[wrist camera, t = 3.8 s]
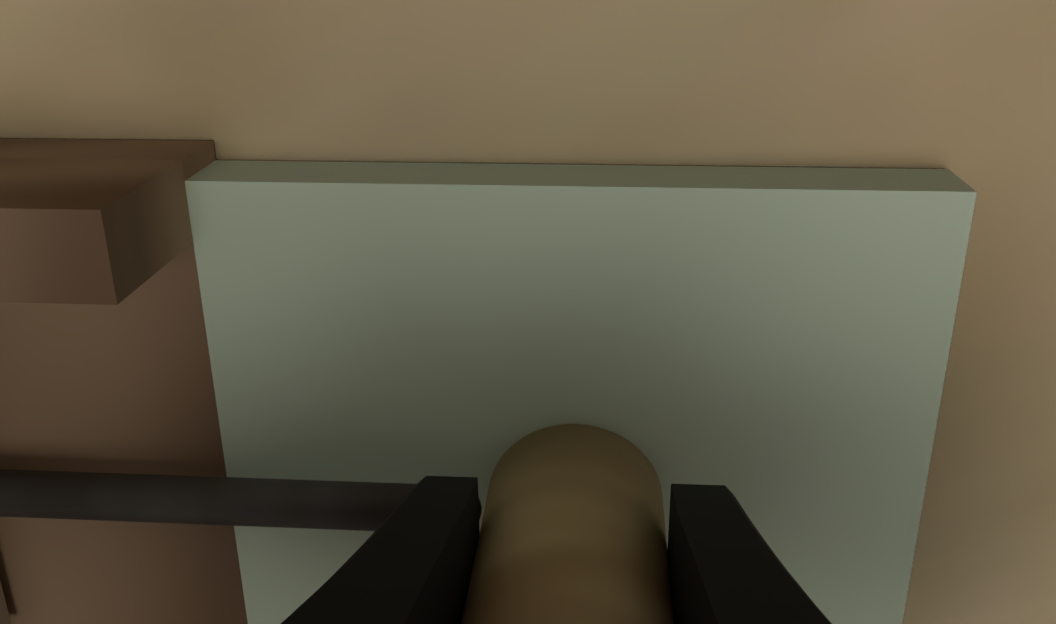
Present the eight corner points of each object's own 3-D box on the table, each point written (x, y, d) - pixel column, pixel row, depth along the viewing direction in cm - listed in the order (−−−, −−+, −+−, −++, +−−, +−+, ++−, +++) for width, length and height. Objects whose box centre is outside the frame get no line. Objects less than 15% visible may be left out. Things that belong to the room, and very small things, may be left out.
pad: (948, 168, 12) (976, 191, 11) (865, 688, 15) (882, 740, 14) (215, 159, 13) (185, 181, 12) (280, 659, 16) (259, 707, 15)
